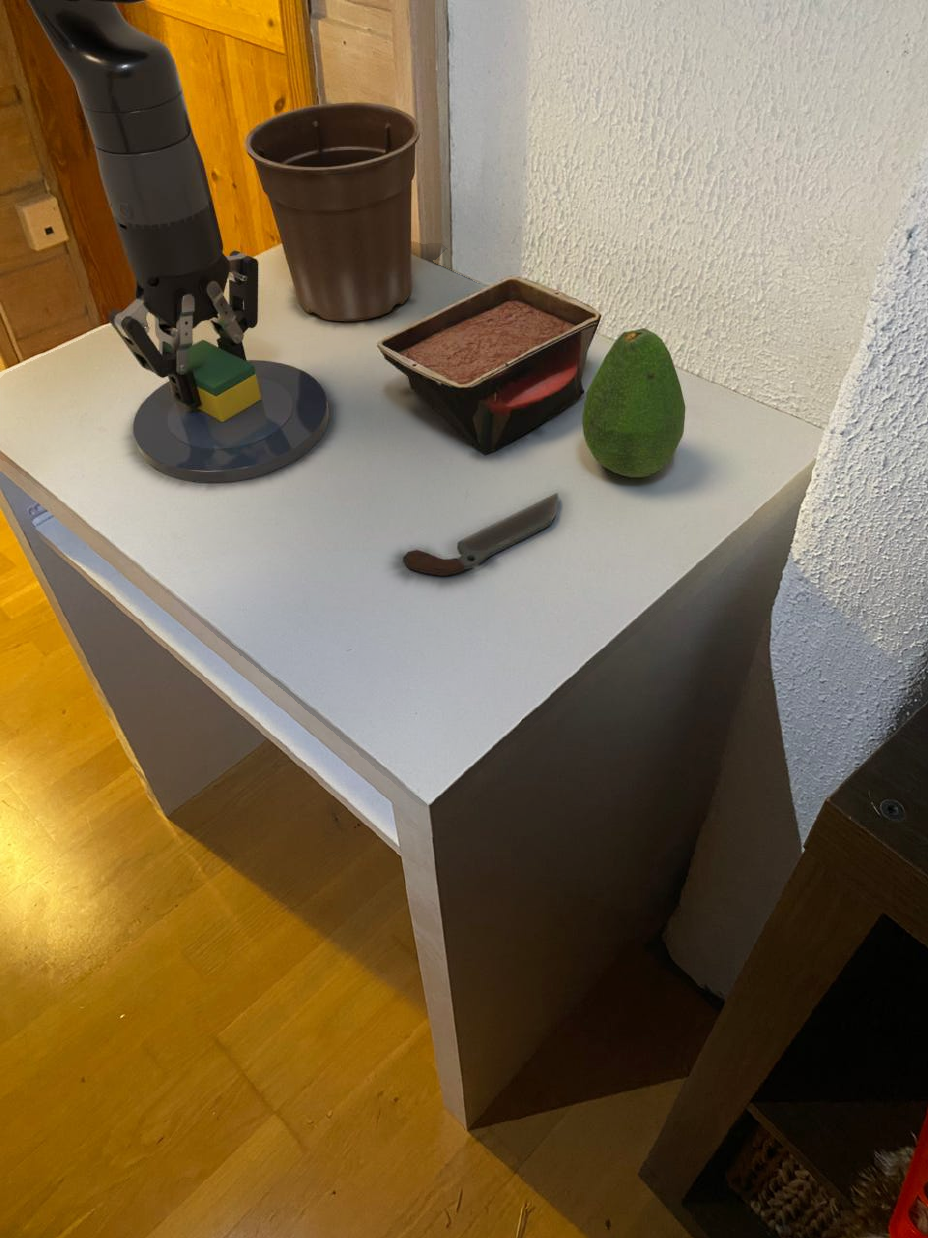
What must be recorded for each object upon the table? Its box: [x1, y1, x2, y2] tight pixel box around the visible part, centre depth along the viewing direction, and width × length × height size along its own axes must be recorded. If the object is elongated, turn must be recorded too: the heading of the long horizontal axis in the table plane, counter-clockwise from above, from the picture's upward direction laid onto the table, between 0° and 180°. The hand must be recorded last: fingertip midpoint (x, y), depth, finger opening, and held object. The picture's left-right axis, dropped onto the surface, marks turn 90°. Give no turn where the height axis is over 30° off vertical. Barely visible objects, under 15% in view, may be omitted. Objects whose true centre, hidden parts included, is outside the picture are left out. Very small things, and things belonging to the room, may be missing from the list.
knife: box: [402, 492, 560, 576], centre depth 70 cm, size 14×4×1 cm, turn 125°
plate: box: [132, 359, 330, 484], centre depth 82 cm, size 17×17×1 cm
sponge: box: [167, 339, 261, 422], centre depth 82 cm, size 4×7×4 cm, turn 50°
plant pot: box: [244, 101, 421, 322], centre depth 92 cm, size 16×16×16 cm
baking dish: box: [376, 275, 603, 456], centre depth 81 cm, size 14×18×10 cm
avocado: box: [581, 327, 686, 478], centre depth 72 cm, size 8×8×12 cm
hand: (214, 390), depth 82 cm, fingers closed on sponge, 4 cm apart
